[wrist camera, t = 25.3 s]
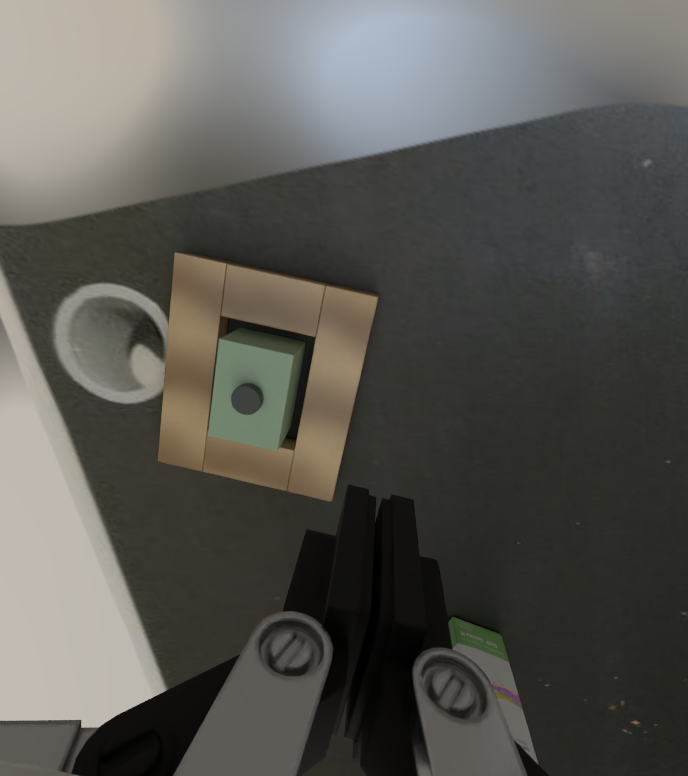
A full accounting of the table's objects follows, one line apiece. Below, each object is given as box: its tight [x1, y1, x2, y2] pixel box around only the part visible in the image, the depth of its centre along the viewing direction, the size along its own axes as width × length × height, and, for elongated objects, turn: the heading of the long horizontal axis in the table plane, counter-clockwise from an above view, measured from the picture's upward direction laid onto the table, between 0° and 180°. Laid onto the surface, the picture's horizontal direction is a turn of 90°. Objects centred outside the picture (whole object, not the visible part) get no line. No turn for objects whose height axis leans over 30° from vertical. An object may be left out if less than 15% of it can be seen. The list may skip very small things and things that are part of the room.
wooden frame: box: [158, 252, 379, 502], centre depth 32 cm, size 16×14×2 cm
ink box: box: [448, 617, 538, 764], centre depth 33 cm, size 9×5×15 cm, turn 158°
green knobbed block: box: [208, 327, 306, 451], centre depth 31 cm, size 7×5×5 cm
